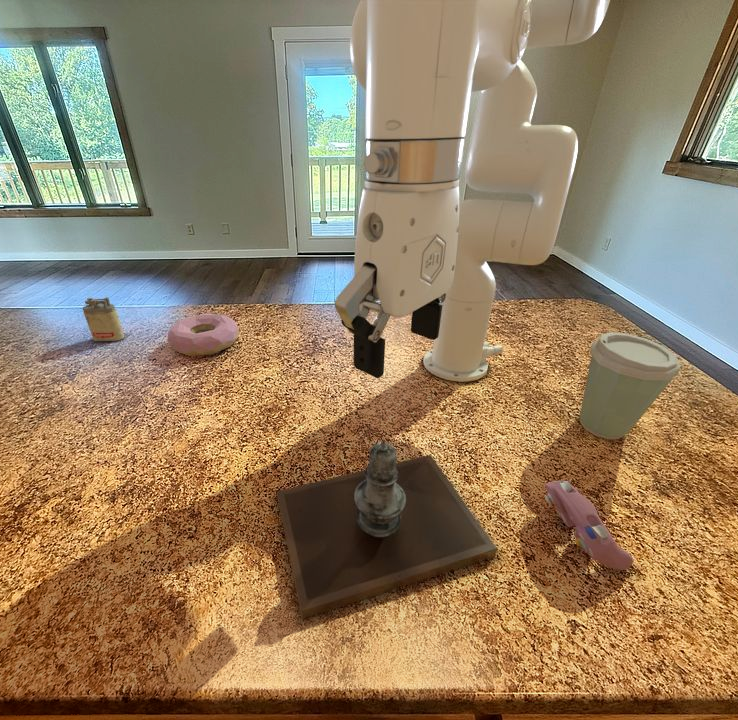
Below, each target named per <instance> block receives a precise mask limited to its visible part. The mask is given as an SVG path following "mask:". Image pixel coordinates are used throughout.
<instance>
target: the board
mask: <svg viewBox="0 0 738 720" xmlns="http://www.w3.org/2000/svg"><path fill="white" fill-rule="evenodd" d="M396 469H397V471H398V479H397V480H396V483H397V484H398V485H399V486H400V487H401V488H402V489H403V491H404V493H405V496H406V503H405V507H404V509H403V510H402V512H401V513H400V515H401V523H400V526H399V528H398V530H397V531H396V532H394V533H393V534H391V535H389V536H386V537H375V536H372V535H369V534H367V533H366V532H364V531H363V530H362V529H361V528H360V526H359V524H358V522H357V518H356V517H357V510H358V507H357V505H356V503H355V499H354V495H355V490H356V488H357V487H358V485H359V484H360V483H361V482H363V481H364V480H366V479H367V478H366V475H365V469H364V470H360V471H356V472H352V473H348V474H344V475H340V476H335V477H331V478H327V479H323V480H322V479H321V480H319V481H314V482H310V483H306V484H302V485H301V484H300V485H297V486H293V487H289V488H284V489H281V490H276V497H277V503H278V507H279V511H280V517H281V522H282V527H283V533H284V537H285V538H284V539H285V542H286V548H287V552H288V557H289V561H290V562H289V563H290V566H291V572H292V577H293V582H294V586H295V592H296V598H297V602H298V607H299V611H300V617H301V619H302V620H304V619H308V618H311V617H314V616H317V615H320V614H323V613H326V612H328V611H332V610H335V609H338V608H341V607H344V606H347V605H351V604H354V603H356V602H360V601H363V600H365V599H368V598H372V597H375V596H378V595H382V594H384V593H387V592H391V591H393V590H397V589H400V588H402V587H406V586H409V585H412V584H415V583H418V582H421V581H425V580H428V579H430V578H433V577H436V576H440V575H443V574H446V573H449V572H452V571H456V570H459V569H461V568H464V567H467V566H471V565H473V564H477V563H480V562H483V561H486V560H489V559H492V558H495V557H496V555H497V551H498V547H497V545H495V543H494V542H493V540H492V539H491V537H490V536H489V535H488V532H487V531H486V530H485V529H484V528H483V525H482V524H481V523H480V521H478V519H477V518H476V516H475V515H474V513H473V512H472V511H471V509H470V508H469V506H468V505H467V504H466V502H465V501H464V500H463V498H462V497H461V496H460V494H459V493H458V491H457V490H456V488H455V487H454V486H453V484H452V483H451V481H450V480H449V479H448V477H447V476H446V475H445V473H444V472H443V470H442V469H441V468H440V466H439V465H438V463H437V462H436V461H435V459H434V457H433V456H432V455H431V454H427V455H424V456H419V457H415V458H411V459H407V460H402V461H398V462H396Z"/></svg>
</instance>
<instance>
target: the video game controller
mask: <svg viewBox="0 0 738 720" xmlns="http://www.w3.org/2000/svg"><path fill="white" fill-rule="evenodd" d="M544 487H545V490H546V492H547V494H544V499H545V501H546V503H547V504H548V505H550V506H552V504H553V505H554V506H555V508H556V510H557V512H558V514H559V516H560V518H561V520H562V522H563V523H564V524H565V526H566V527H567V528H572V527H574V531H573V536H574V537H575V539H574V542H575V544H576V546H578V547H580V548H581V549H582V551H584V553H585V554H586V553H587V554H588V555H589V556H590V557H591V558H592V559H593V561H597V562H599V564H601V565H603V566H604V567H607V568H610V569H613V570H615V571H616V570H617V571H625V570H627V569H629V568H630V567H631V566H632V565H633V563H634V558H633V556H632V555H631V554H630V553H629V552H628V551H627V550H625V549H623V548H622V547H621V546H619V545H618V543H617V542H616V541H615V539H614V538H613V536H612V534H611V532H610V531H609V529H608V528H607V527H606V525H605V524H604V522H603V520H601V517H600V516H599V513H598V511H597V509H596V507H595V505H594V504H593V502H591V501H590V499H588V498H587V497H585V496H584V495H583V493H582V492H581V490H579V489H578V488H576V487H575V486H574V485H572V484H571V483H570V482H569V481H567V480H554V481H550V482H547V483H545V484H544Z"/></svg>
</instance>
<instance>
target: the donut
mask: <svg viewBox="0 0 738 720" xmlns="http://www.w3.org/2000/svg"><path fill="white" fill-rule="evenodd" d="M238 338H239V327H238V325H237V323H236V321H235V320H234V319H233V318H231V317H229V315H223V314H215V313H208V312H207V313H203V314H202V313H201V314H196V315H192V316H188V317H184V318H182V319H181V320H179V321H178V322H176V323H175V324H173V325H172V327H171V328H170V329H169V330H168V331H167V341H166V342H168V343H169V346H170V347H171V348H172V350H174V351H175V352H177V353H179V354H182V355H186V356H190V357H196V356H197V357H199V356H213V355H215V354H217V353H219V352H221V351H224V350H226V349H227V348H230V347H231V346H232V345H233V344H234V343H235V342H236V341H237V340H238Z"/></svg>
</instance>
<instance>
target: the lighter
mask: <svg viewBox="0 0 738 720" xmlns="http://www.w3.org/2000/svg"><path fill="white" fill-rule="evenodd" d="M84 304H85V306H84V305H83V307H82V311H83V316H84V318H85V320H86V324H87V327H88V329H89V331H90V334H91V336H92V340H93V341H94V342H117V341H120V340H123V339H125V337H126V335H125V333H124V330H123V326H122V324H121V321H120V318H119V314H118V311H117V309H116V307H115V305H114V304H112V303H110V298H109V297H104V298H93V297H90V298H86V300H85V301H84Z"/></svg>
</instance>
